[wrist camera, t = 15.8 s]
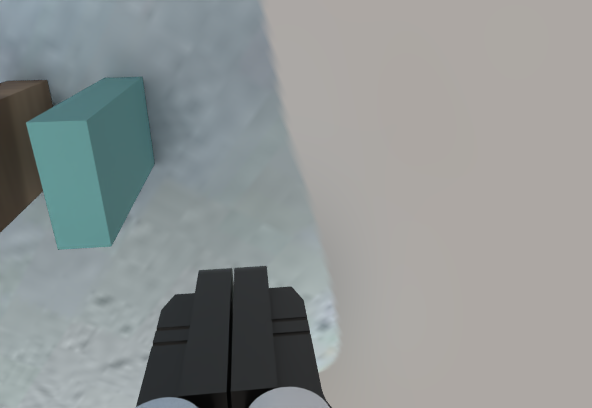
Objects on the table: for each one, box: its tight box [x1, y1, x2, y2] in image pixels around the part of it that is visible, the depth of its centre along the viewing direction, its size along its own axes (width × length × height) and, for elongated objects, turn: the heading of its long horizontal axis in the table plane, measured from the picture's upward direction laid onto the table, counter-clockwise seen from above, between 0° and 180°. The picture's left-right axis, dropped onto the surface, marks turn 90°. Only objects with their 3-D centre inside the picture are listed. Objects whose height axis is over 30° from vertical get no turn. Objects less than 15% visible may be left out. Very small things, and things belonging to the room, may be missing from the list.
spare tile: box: [26, 77, 155, 250], centre depth 21 cm, size 2×5×10 cm, turn 1°
